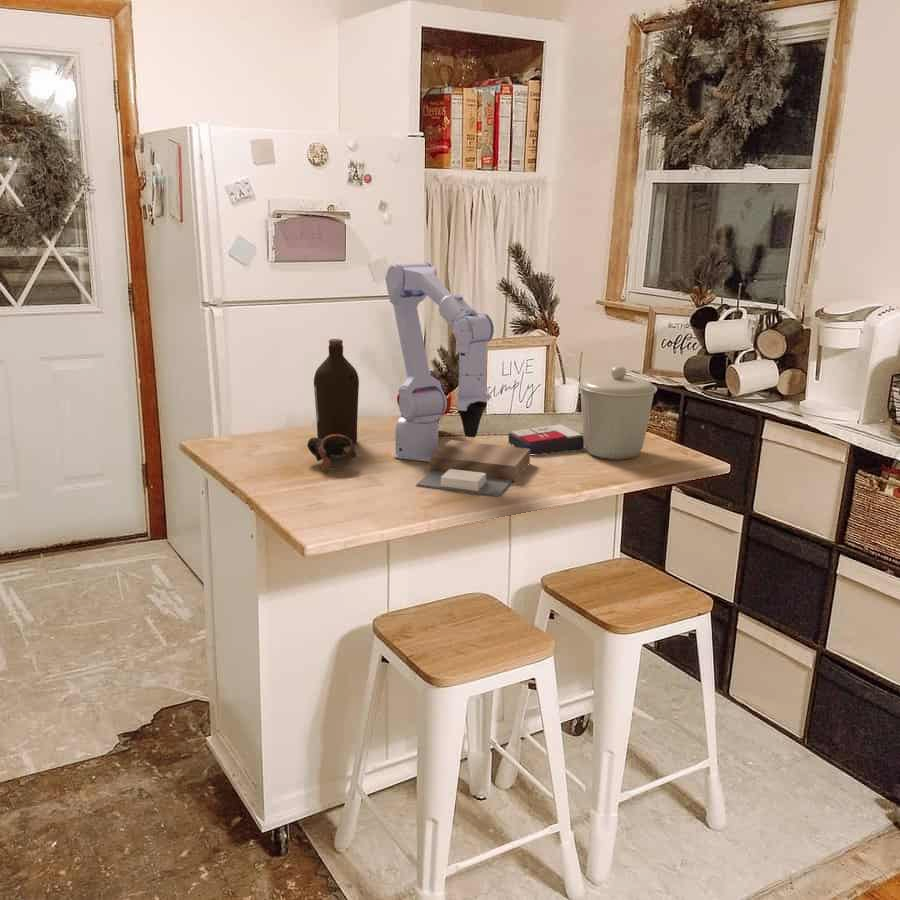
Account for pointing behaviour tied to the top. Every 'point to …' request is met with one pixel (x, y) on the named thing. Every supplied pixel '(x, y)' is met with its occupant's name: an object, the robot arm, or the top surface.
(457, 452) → the block
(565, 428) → the calculator
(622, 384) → the canister
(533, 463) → the top surface
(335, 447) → the pottery mug
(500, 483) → the mat
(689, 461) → the top surface
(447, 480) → the tile
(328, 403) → the olive oil
